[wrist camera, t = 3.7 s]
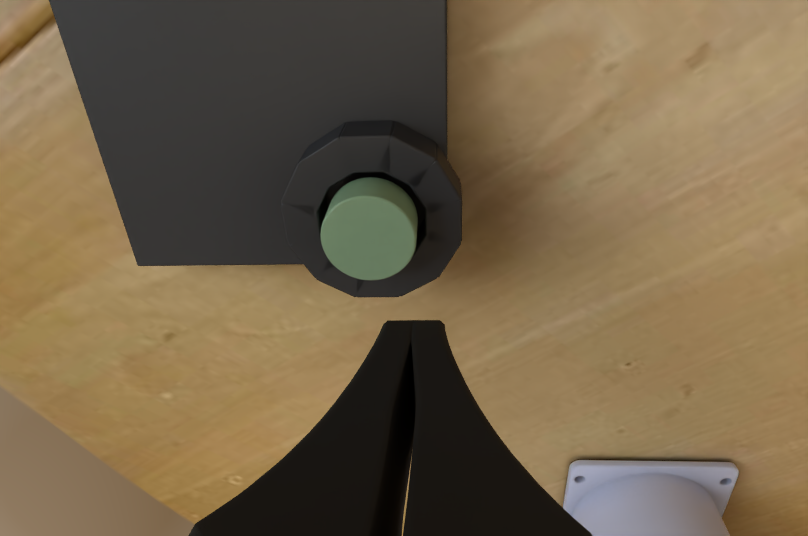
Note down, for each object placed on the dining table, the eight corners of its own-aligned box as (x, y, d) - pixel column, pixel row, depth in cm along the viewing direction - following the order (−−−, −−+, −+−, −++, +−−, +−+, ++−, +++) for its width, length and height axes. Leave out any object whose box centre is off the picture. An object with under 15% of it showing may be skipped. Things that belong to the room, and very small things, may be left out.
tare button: (419, 257, 19) (417, 281, 18) (333, 257, 20) (325, 281, 18) (416, 175, 18) (414, 195, 17) (323, 177, 18) (314, 196, 17)
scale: (458, 255, 22) (461, 297, 20) (156, 258, 23) (120, 299, 21) (462, -218, 15) (467, -249, 12) (16, -187, 16) (-66, -210, 13)
